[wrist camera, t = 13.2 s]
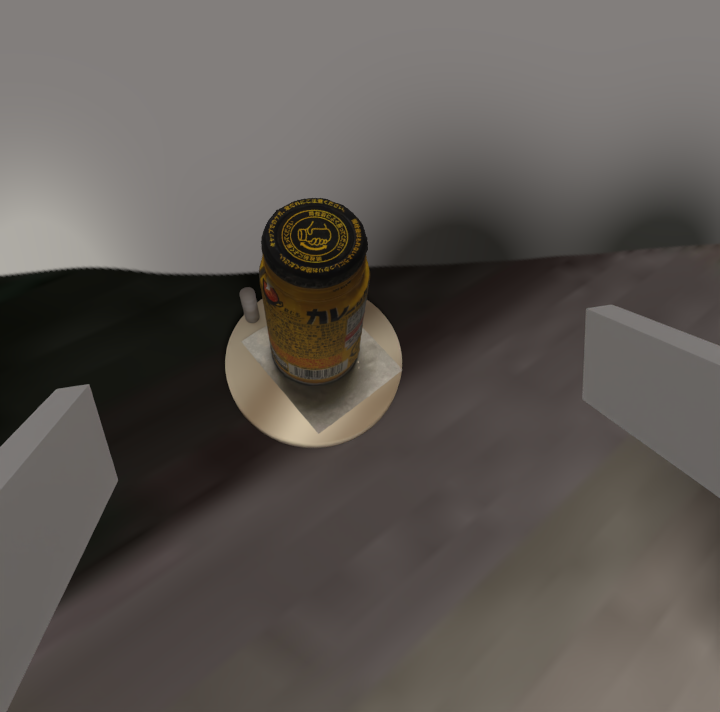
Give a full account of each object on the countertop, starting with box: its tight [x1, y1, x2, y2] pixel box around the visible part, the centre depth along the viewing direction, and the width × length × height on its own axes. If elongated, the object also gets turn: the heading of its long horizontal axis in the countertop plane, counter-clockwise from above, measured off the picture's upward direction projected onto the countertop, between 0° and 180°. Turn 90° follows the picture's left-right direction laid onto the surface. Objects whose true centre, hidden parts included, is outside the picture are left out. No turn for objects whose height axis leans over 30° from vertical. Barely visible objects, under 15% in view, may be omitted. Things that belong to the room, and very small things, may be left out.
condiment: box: [241, 198, 402, 434], centre depth 31 cm, size 7×8×12 cm
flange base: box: [225, 287, 402, 448], centre depth 36 cm, size 12×12×4 cm
